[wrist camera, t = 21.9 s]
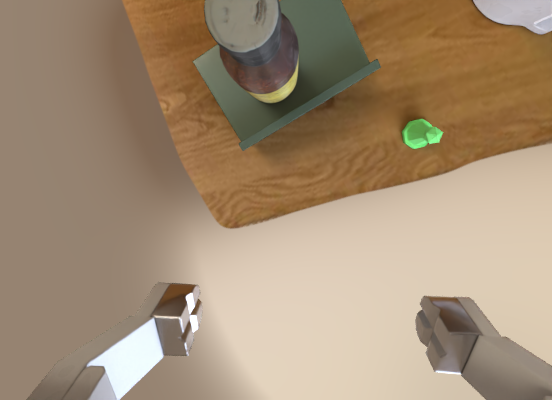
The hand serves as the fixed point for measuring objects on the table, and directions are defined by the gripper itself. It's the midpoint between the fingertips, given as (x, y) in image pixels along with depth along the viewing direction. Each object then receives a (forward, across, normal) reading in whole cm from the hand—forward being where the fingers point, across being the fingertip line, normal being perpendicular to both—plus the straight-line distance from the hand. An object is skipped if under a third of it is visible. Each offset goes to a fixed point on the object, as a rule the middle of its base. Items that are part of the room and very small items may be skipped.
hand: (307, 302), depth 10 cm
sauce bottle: (+29, +4, -7) cm, 30 cm away
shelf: (+36, +2, -7) cm, 37 cm away
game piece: (+36, -17, +1) cm, 40 cm away
